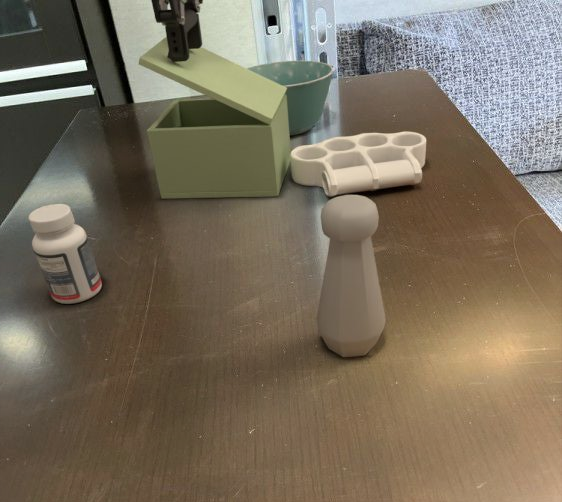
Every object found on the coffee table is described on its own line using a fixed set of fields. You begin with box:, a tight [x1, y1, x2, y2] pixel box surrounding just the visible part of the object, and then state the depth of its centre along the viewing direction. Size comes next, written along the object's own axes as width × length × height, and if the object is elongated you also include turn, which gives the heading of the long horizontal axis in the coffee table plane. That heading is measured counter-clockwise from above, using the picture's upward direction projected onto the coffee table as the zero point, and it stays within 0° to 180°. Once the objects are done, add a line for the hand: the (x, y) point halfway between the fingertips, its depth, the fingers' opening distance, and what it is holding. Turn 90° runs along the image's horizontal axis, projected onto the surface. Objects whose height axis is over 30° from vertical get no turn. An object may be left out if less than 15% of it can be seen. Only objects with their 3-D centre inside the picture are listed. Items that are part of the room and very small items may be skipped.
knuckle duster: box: [290, 131, 427, 198], centre depth 81 cm, size 3×18×15 cm
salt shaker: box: [316, 194, 387, 358], centre depth 50 cm, size 6×6×13 cm
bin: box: [146, 94, 292, 200], centre depth 82 cm, size 16×13×9 cm
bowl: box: [245, 60, 334, 136], centre depth 97 cm, size 16×16×8 cm
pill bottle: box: [28, 203, 103, 305], centre depth 62 cm, size 5×5×9 cm
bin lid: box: [138, 9, 287, 125], centre depth 76 cm, size 16×13×5 cm
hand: (187, 53), depth 76 cm, fingers closed on bin lid, 5 cm apart
